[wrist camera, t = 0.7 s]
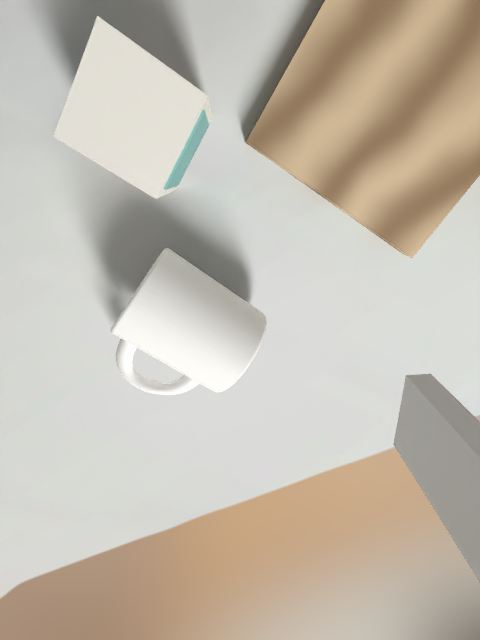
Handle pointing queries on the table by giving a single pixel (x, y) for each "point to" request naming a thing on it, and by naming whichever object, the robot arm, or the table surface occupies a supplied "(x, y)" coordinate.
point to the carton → (133, 113)
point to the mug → (187, 328)
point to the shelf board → (382, 112)
